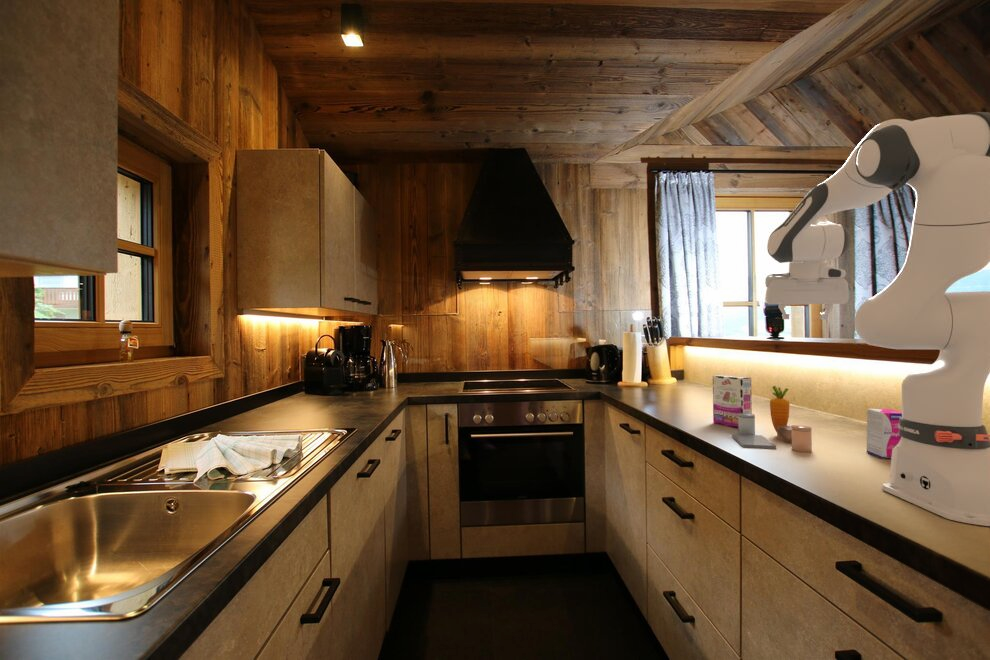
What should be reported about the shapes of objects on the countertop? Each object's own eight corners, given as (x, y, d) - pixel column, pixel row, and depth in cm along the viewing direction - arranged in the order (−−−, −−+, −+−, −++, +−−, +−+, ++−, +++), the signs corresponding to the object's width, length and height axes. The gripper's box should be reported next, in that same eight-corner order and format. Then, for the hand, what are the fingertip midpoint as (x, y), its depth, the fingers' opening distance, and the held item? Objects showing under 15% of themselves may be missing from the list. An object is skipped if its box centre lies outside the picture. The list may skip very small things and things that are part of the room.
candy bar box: (753, 427, 146) (752, 377, 146) (742, 429, 144) (741, 378, 144) (722, 421, 156) (722, 374, 156) (712, 423, 154) (711, 375, 154)
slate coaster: (776, 448, 121) (776, 445, 121) (743, 447, 123) (743, 444, 123) (761, 438, 133) (761, 435, 133) (732, 436, 135) (731, 434, 135)
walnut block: (806, 443, 127) (806, 429, 127) (788, 444, 127) (788, 429, 127) (794, 439, 132) (794, 425, 132) (777, 439, 132) (777, 425, 132)
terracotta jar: (814, 452, 117) (814, 429, 117) (795, 452, 118) (795, 428, 118) (807, 448, 121) (807, 425, 121) (789, 447, 122) (788, 424, 122)
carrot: (793, 436, 134) (793, 386, 134) (782, 438, 132) (781, 387, 132) (777, 433, 138) (777, 384, 138) (766, 434, 137) (765, 385, 136)
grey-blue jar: (757, 436, 135) (756, 415, 135) (740, 436, 136) (740, 415, 136) (752, 433, 139) (752, 413, 139) (736, 432, 140) (736, 412, 140)
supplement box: (882, 459, 111) (882, 412, 111) (865, 452, 116) (865, 408, 116) (908, 459, 110) (908, 412, 110) (890, 453, 116) (889, 408, 116)
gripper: (767, 273, 133) (765, 320, 134) (852, 271, 125) (849, 320, 127) (763, 273, 139) (762, 317, 140) (844, 271, 131) (841, 318, 133)
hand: (804, 319), depth 134 cm, fingers open, 8 cm apart
